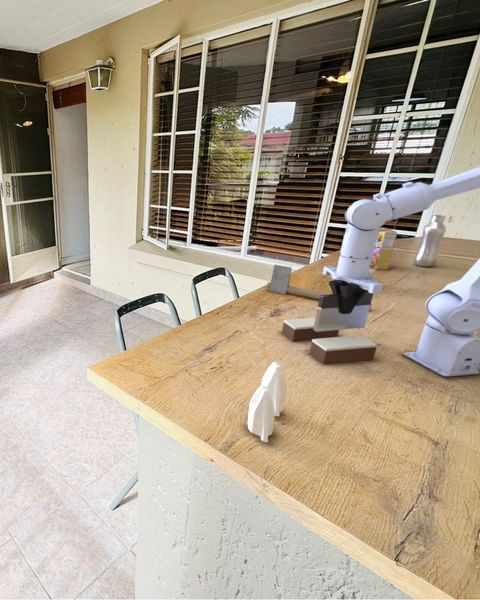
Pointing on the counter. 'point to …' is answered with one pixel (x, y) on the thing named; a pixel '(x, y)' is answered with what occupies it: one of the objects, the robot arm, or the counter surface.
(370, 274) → the white rounded oblong piece
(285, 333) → the cake far half
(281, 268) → the long-handled mallet
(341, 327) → the wide flat blade
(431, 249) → the silver bottle
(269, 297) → the counter surface
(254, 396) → the shaker set
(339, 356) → the cake near half
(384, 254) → the candy box
